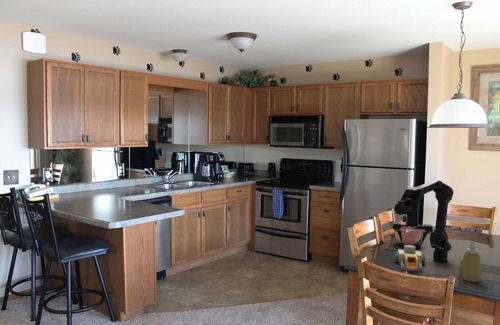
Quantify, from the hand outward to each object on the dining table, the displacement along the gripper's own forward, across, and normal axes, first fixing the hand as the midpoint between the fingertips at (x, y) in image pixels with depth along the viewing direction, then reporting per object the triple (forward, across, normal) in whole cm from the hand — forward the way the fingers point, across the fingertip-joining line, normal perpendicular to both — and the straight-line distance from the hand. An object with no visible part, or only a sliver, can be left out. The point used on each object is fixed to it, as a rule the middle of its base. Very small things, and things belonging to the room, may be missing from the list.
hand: (411, 244), depth 212 cm
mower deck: (+12, 0, -10) cm, 16 cm away
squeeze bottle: (+12, -25, +12) cm, 30 cm away
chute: (+11, 0, 0) cm, 11 cm away
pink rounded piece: (+12, -1, -46) cm, 48 cm away
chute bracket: (+12, 0, 0) cm, 12 cm away
